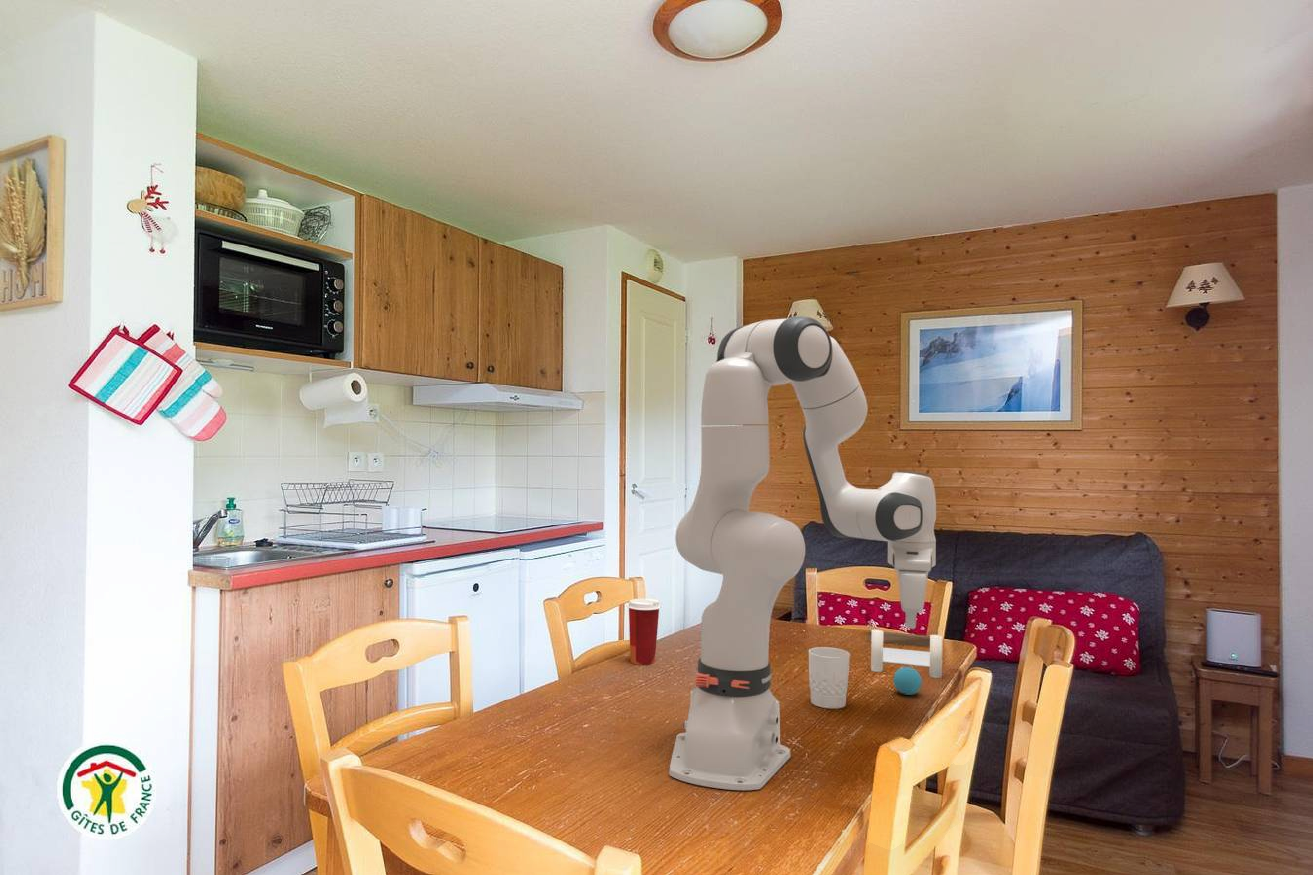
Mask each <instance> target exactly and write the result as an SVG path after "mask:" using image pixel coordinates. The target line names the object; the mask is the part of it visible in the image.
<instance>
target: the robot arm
mask: <svg viewBox="0 0 1313 875" xmlns="http://www.w3.org/2000/svg"><path fill="white" fill-rule="evenodd" d="M703 384H704V385H703V389H702V390H703V391H702V398H701V415H700V416H701V418H700V419H701V421H700V425H701V427H700V429H701V434H700V435H701V439H700V440H701V444H700V445H701V452H700V453H701V456H700V458H701V464H700V465H701V467H700V477H699V482H698V486H697V490H696V493H695V497H694V498H693V502H692V504H691V506H690V509H689V510H688V512H686V514H684V516H682V518H681V519H680V521H679V522H678V525H677V527H676V530H675V547H676V549H677V551H678V553H679V555H680V556H681V558H682V559H684V560H685V561H687V562H688V563H690V564H691V565H693V566H695V567H697V568H698V569H700V570H703V571H705V572H710V573H715V574H719V575H722V583H721V587H720V589H719V590H720V591H719V593H718V596H717V598H716V599H715V601H713V602H711V603H710V604H709V605H707V606H706V608H705V609H704V610H703V612H702V614H701V622H700V623H701V627H700V634H701V635H700V658H699V659H698V660H697V667H696V672H695V674H696V680H695V685H696V686H695V687H694V688H693V689H692V690H690V703H689V710H688V714H687V715H688V716H687V719H685V720H684V721H683V725H682V726H683V728H684V730H685V732H680V733H678V734H677V735H676V738H675V742H674V746H673V751H672V756H671V761H670V765H669V771H668V774H669V776H670V777H671V778H675V779H677V780H679V781H682V782H684V783H689V784H692V785H697V786H702V787H707V788H714V789H722V790H731V791H754V790H760V789H762V788H763V787H764V786H765V785H766V783H768V781H770V779H771V778H772V777H773V776H774V775H776V773H777V772H778V771H779V770H780V769H781V768H782V767H783V766H784V765H785V763H787V761H789V759H790V758H791V749H790V748H789V747H787V746H785V745H782V744H781V727H780V725H781V724H780V723H781V718H780V711H781V710H780V702H779V700H778V699H777V698H776V697H775V696H774V695H773V693H772V692H771V689H770V688H771V683H772V681H771V680H772V669H771V667H772V666H771V663H770V662H769V647H770V629H771V628H770V626H771V618H772V614H773V609H774V607H775V603H776V601H777V598H778V596H779V594H780V592H781V591H782V589H783V587H784V586H785V585H786V584H787V583H788V582H789V581H790V580H792V579H793V578H794V577H795V576H796V575H797V574H798V573H799V572H800V570H801V568H802V567H803V564H804V561H805V558H806V543H805V539H804V535H803V533H802V531H801V529H800V528H799V527H798V525H796V524H795V523H793V522H792V521H790V520H788V519H785V518H783V517H780V516H777V515H775V514H772V513H768V512H759V511H752V510H751V511H750V503H751V499H752V496H753V493H754V491H755V488H756V487H757V485H758V484H759V483H761V482H762V481H763V480H765V479H766V477H767V476H768V473H769V472H770V426H769V425H770V422H769V420H770V419H769V405H768V396H769V392H770V390H771V387H772V386H780V385H788V384H791V386H792V387H793V389H794V391H795V394H796V398H797V400H798V402H799V405H800V408H801V409H802V413H803V416H804V420H805V425H804V427H803V429H802V430H803V431H802V438H803V444H804V449H805V453H806V457H807V461H808V464H809V467H810V470H811V473H812V474H811V475H812V477H813V480H814V484H815V487H816V491H817V493H818V497H819V498H818V499H819V506H820V516H821V520H822V523H823V525H824V527H825V529H826V530H827V531H828V532H829V533H830V535H832V536H834V537H836V538H842V539H843V538H844V539H845V538H846V539H847V538H848V539H855V538H856V539H862V540H869V541H870V540H871V541H882V542H887V564H889V565H892V567H893V571H894V572H895V574H897V578H898V579H897V580H898V590H899V596H900V607H901V610H902V612H905V626H906V628H907V629H912V630H914V629H916V626H917V615H918V614H917V613H919V614H921V613H922V612H923V610H924V606H925V598H926V590H927V582H928V574H929V573H930V572H931V569H932V568H933V567H935V566H936V564H937V563H936V559H937V557H936V554H937V553H936V551H937V550H936V542H937V539H936V536H935V523H936V521H937V520H936V519H937V501H936V489H935V484H934V482H933V480H932V478H931V477H930V476H929V475H927V474H923V473H920V472H912V471H901V470H900V471H895V472H893V473H892V476H891V478H890V480H889V481H888V482H887V483H885V484H883V485H882V486H880V487H878V488H876V489H875V488H874V489H873V488H859V487H856V486H853V485H852V484H850V482H848V480H847V479H846V478H847V477H846V474H845V472H844V467H843V465H842V464H843V463H842V461H841V457H840V453H839V445H840V444H841V443H843V442H845V441H847V440H848V439H849V438H852V436H853V435H855V434H856V433H857V432H858V431H859V430H860V429H861V427H862V426H864V423H865V421H866V418H867V414H868V410H869V409H868V402H867V398H866V395H865V392H864V390H863V387H862V385H861V383H860V381H859V379H858V376H857V373H856V372H855V370H854V367H853V366H852V364H851V362H850V359H849V358H848V356H847V355H846V353H845V351H844V350H843V348H842V347H841V346H840V344H839V343H838V341H837V340H836V339H835V338H834V337H832V336H830V334H829V332H828V330H826V328H825V327H824V326H823V324H822V323H821V322H819V321H818V320H817V319H815V318H812V317H809V316H799V315H798V316H796V315H795V316H790V317H788V318H777V319H775V318H774V319H763V320H760V321H756V322H754V323H750V324H746V325H741V326H738V327H735V328H734V329H732V330H731V331H729V332H728V333H727V334H725V335H724V337H723V338H722V340H721V341H720V343H719V345H718V350H717V356H716V361H715V362H714V363H712V365H711V366H709V368H708V369H707V372H706V374H705V379H704V383H703Z"/></svg>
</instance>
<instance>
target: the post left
mask: <svg viewBox="0 0 1313 875" xmlns="http://www.w3.org/2000/svg"><path fill="white" fill-rule="evenodd" d="M871 631H872V638H871V644H870V647H871V648H870V649H871V650H870V651H871V653H870V671H871V672H875V673H882V672H883V671H884V662H883V648H884V643H883V632H885V631H884V630H882V629H875V628H874V629H871Z"/></svg>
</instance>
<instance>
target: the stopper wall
mask: <svg viewBox="0 0 1313 875" xmlns="http://www.w3.org/2000/svg"><path fill="white" fill-rule="evenodd" d="M871 638H872V630H870V629H869V630H868V632H867V642H871ZM883 644H892V645H900V644H902V645H904V646H911V645H918V646H917V647H921V646H930V635H924V634H912V633H904V632H903V633H901V632H889V631H884V632H883Z"/></svg>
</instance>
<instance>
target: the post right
mask: <svg viewBox="0 0 1313 875" xmlns="http://www.w3.org/2000/svg"><path fill="white" fill-rule="evenodd" d="M929 636H930V647H929V652H930V667H929V673H928V674H929V677H930V678H932V677H933V679H942V677H943V635H939V634H930V635H929Z"/></svg>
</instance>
